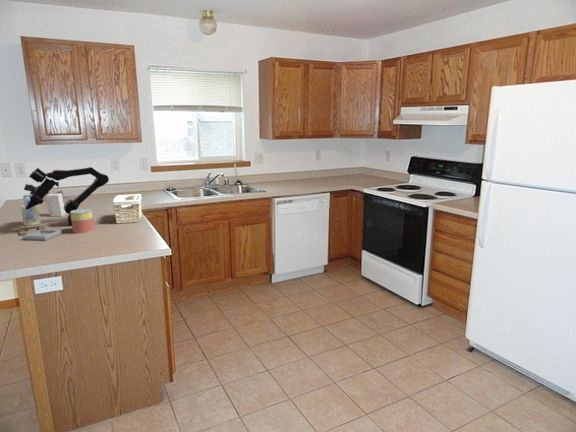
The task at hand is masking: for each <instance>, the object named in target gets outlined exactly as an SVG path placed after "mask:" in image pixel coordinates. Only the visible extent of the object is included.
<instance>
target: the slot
mask: <svg viewBox="0 0 576 432" xmlns="http://www.w3.org/2000/svg"><path fill="white" fill-rule="evenodd" d="M45 228H46V227H45V225H33V226H28V227H20V228H18V230H19V236H21V237H22V236H24V235H27V230H34V229H38V230H46V229H45Z"/></svg>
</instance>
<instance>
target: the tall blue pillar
mask: <svg viewBox="0 0 576 432" xmlns="http://www.w3.org/2000/svg"><path fill="white" fill-rule="evenodd" d="M30 197H31V194H25V195H22V198H23V204H24V205H25V208H26V206H27V205H28V203H29V202H30ZM25 211H26V217H27V218H25V219H26V223H28V222H36V218H35V217H34V214H33V208H30V209H25Z"/></svg>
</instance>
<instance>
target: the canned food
mask: <svg viewBox="0 0 576 432" xmlns="http://www.w3.org/2000/svg"><path fill="white" fill-rule="evenodd" d="M70 213H71V220H72V226H71V227H72V233H73V234H77V233H81V234H88V233H91V232H93V231H95V226H94V216H93V209H92V208H77V210H73V211H71V212H70Z"/></svg>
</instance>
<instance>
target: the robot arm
mask: <svg viewBox="0 0 576 432" xmlns="http://www.w3.org/2000/svg"><path fill="white" fill-rule="evenodd" d="M86 175H91V176H93V177H95V178H94V180H93V181H92V183H91V184H90V185H88V186H87V188H85V189H84V190H83V191H82V192H80V194H79V195H77V196H76V198H74V199H71V198H69V199H68V200H67V201H66V202H64V210H65V212H66V213H67V221H68V224H67V226H71V227H72V220H71V213H70V212H71V211H73V210H77V209H79V207H80V205H81V204H82V203H83V202H84V201H85V200H86V199H87V198H89V196H91V195H92V194H93V193H94V192H96V190H98V189H99V188H101V187H103V186H104V185H106V184H108V182H109V181H110V180H109V179H110V178H109V176H108V175H106V174H104V173H101V172H99V171H98V170H96V169H94V167H92V166H91V167H90V166H89V167H84V168H76V169H75V168H74V169H69V170H67V169H66V170H65V169H54V170H52V171H51V172H47V173H45V172H44V171H43V170H41V169H40V168H38V167H37V168H36V169H34V170H33V171H32V172H31V173H30V174H29V176H28V177H29V178H31V180H33V181H35V182H36V183H41V184H40V185H37V186H34V185H33V184H28V183H26V184H25V185H24V187H23V189H24V191H28V192H29V195H31V197H30V202H29V203H28V205H27V206H26V208H25V209H30V208H32V207H34V206H36V205H38V206H39V205H42V204H43V203H44V198H46V195H49V194H50V191H51V190H52V189H53V188H54V187H55V186H56V187H58V188H59V186H60V185H59V183H60V182H59V181H62V180H64V179H68V178H70V177H77V176H86Z"/></svg>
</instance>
